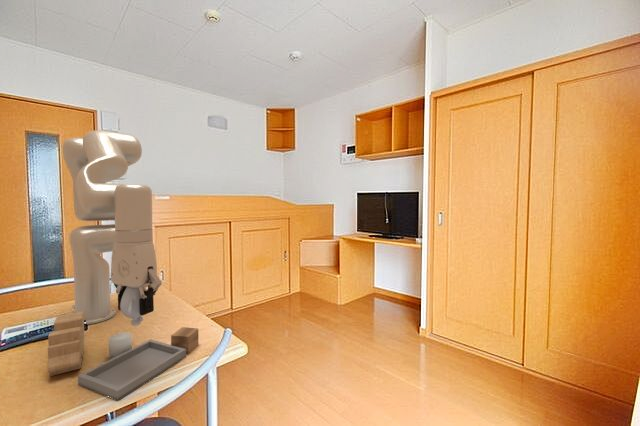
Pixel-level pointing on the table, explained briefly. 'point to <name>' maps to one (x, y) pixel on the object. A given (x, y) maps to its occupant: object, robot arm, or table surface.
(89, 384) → the tray
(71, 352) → the stepped wooden block
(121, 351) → the pale grey egg shape
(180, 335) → the walnut cube
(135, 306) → the toy figure
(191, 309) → the table surface
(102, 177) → the robot arm
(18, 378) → the table surface
